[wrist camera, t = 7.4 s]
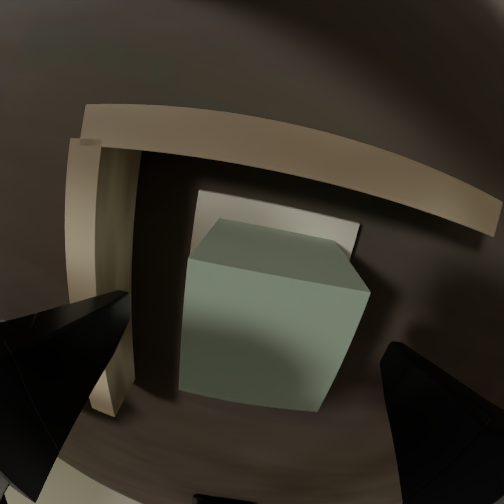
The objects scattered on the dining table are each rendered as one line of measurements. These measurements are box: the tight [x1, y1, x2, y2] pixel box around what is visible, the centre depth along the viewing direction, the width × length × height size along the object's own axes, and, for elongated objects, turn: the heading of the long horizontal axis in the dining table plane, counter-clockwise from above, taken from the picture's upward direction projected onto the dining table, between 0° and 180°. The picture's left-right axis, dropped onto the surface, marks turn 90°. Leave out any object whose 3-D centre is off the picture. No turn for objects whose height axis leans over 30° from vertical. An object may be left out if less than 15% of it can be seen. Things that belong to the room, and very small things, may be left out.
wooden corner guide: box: [65, 104, 503, 417], centre depth 12 cm, size 15×16×4 cm
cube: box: [179, 218, 371, 412], centre depth 11 cm, size 5×5×5 cm
